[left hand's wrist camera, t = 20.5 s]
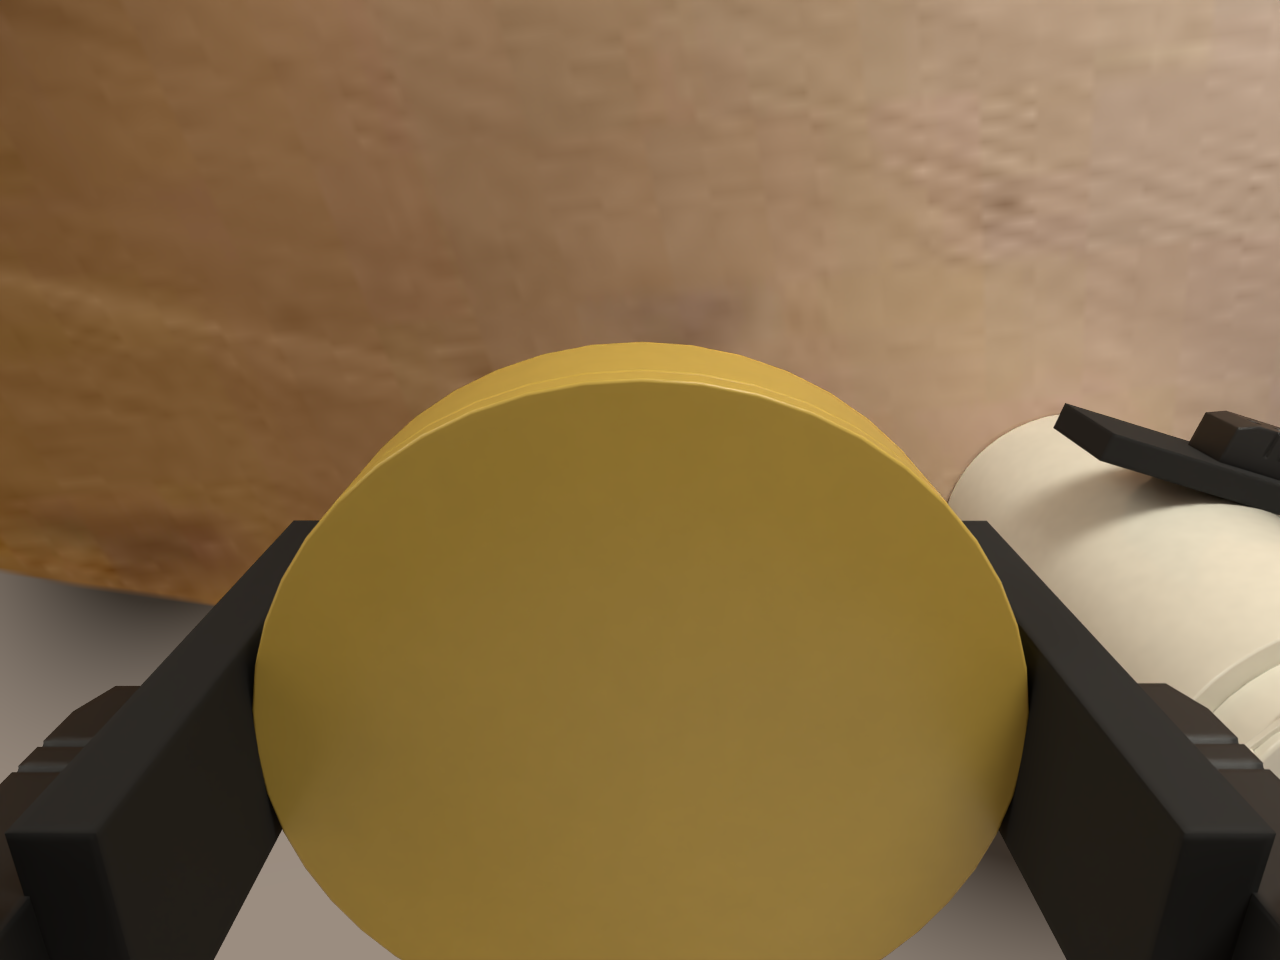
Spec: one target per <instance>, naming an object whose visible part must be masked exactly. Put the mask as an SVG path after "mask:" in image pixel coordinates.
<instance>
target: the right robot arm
mask: <svg viewBox="0 0 1280 960" xmlns="http://www.w3.org/2000/svg"><path fill="white" fill-rule="evenodd" d="M1053 428H1054V429H1055V430H1057V431H1058V432H1060V433H1061V434H1062V435H1064V436H1065V437H1067V438H1068V439H1070V440H1071V441H1072V442H1074V443H1075V444H1077V445H1078V446H1079V447H1081V448H1082V449H1084V450H1085V451H1087V452H1088V453H1089V454H1091V455H1092V456H1094V457H1095V458H1097V459H1098V460H1099V461H1102V462H1105V463H1109V464H1112V465H1115V466H1119V467H1122V468H1125V469H1129V470H1132V471H1135V472H1138V473H1142V474H1145V475H1148V476H1152V477H1155V478H1158V479H1162V480H1165V481H1168V482H1171V483H1175V484H1178V485H1181V486H1185V487H1188V488H1191V489H1195V490H1198V491H1201V492H1205V493H1208V494H1211V495H1214V496H1218V497H1221V498H1224V499H1228V500H1231V501H1234V502H1238V503H1241V504H1244V505H1247V506H1251V507H1254V508H1257V509H1261V510H1264V511H1267V512H1271V513H1274V514H1277V515H1280V428H1279V427H1276V426H1273V425H1270V424H1266V423H1263V422H1260V421H1257V420H1254V419H1251V418H1247V417H1244V416H1241V415H1238V414H1235V413H1231V412H1228V411H1218V412H1206V413H1205V415H1204V417H1203V418H1202V420H1201V422H1200V424H1199V426H1198V427H1197V429H1196V431H1195V433H1194V435H1193V436H1192V438H1191V440H1190V442H1189V441H1186V440H1183V439H1180V438H1176V437H1173V436H1170V435H1167V434H1163V433H1160V432H1157V431H1154V430H1150V429H1147V428H1144V427H1141V426H1138V425H1134V424H1131V423H1128V422H1125V421H1121V420H1118V419H1115V418H1112V417H1108V416H1105V415H1102V414H1099V413H1095V412H1092V411H1089V410H1086V409H1083V408H1079V407H1076V406H1073V405H1070V404H1066V403H1065V405H1064V407H1063V409H1062V411H1061V413H1060V415H1059V417H1058V419H1057V421H1056V423H1055V425H1054V427H1053Z"/></svg>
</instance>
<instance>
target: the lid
mask: <svg viewBox="0 0 1280 960" xmlns="http://www.w3.org/2000/svg"><path fill="white" fill-rule="evenodd" d="M252 710H253V720H254V728H255V734H256V740H257V746H258V752H259V757H260V762H261V767H262V772H263V777H264V782H265V786H266V790H267V794H268V796H269V798H270V801H271V803H272V806H273V808H274V810H275V813H276V815H277V817H278V820H279V822H280V824H281V827H282V829H283V832H284V833H285V835H286V836H287V838H288V840H289V841H290V843H291V845H292V847H293V848H294V850H295V852H296V853H297V855H298V857H299V858H300V860H301V862H302V863H303V865H304V867H305V868H306V869H307V871H308V872H309V873H310V874H311V876H312V877H313V878H314V879H315V881H316V882H317V883H318V884H319V886H320V887H321V888H322V889H323V891H324V892H325V893H326V894H327V896H328V897H329V898H330V900H331V901H332V902H333V903H334V904H335V905H336V906H337V907H338V908H339V909H340V910H341V911H343V912H344V913H345V914H346V915H347V916H348V917H349V918H350V919H351V920H352V921H353V922H354V923H355V924H356V925H357V926H358V927H359V928H360V929H361V930H362V931H363V932H365V933H366V934H367V935H369V936H370V937H371V938H372V939H374V940H375V941H376V942H378V943H379V944H380V945H382V946H383V947H384V948H385V949H387V950H388V951H389V952H391V953H392V954H393V955H395V956H396V957H398V958H399V959H401V960H881V959H883V958H884V957H886V956H887V955H888V954H890V953H891V952H892V951H894V950H895V949H896V948H897V947H899V946H900V945H901V944H903V943H904V942H905V941H907V940H908V939H909V938H911V937H912V936H913V935H915V934H916V933H917V932H918V931H919V930H921V929H922V928H923V927H924V926H925V925H926V924H927V923H928V922H929V921H930V920H931V919H932V918H933V917H934V916H935V915H936V914H937V913H938V912H939V911H940V910H941V909H942V908H943V907H944V906H945V905H946V904H947V903H948V902H949V901H950V900H951V899H952V898H953V896H954V895H955V894H956V893H957V891H958V890H959V889H960V888H961V886H962V885H963V884H964V883H965V881H966V880H967V879H968V878H969V877H970V875H971V874H972V873H973V872H974V870H975V869H976V867H977V866H978V864H979V862H980V861H981V859H982V857H983V856H984V854H985V852H986V851H987V849H988V848H989V846H990V844H991V843H992V841H993V839H994V838H995V836H996V834H997V832H998V830H999V828H1000V825H1001V823H1002V821H1003V818H1004V816H1005V814H1006V812H1007V809H1008V807H1009V805H1010V802H1011V800H1012V798H1013V795H1014V791H1015V787H1016V782H1017V777H1018V772H1019V768H1020V763H1021V758H1022V752H1023V746H1024V740H1025V734H1026V728H1027V722H1028V716H1029V704H1028V683H1027V667H1026V662H1025V657H1024V652H1023V648H1022V643H1021V638H1020V634H1019V629H1018V624H1017V622H1016V619H1015V616H1014V614H1013V611H1012V609H1011V606H1010V603H1009V601H1008V598H1007V596H1006V593H1005V590H1004V588H1003V585H1002V583H1001V581H1000V579H999V577H998V575H997V574H996V572H995V570H994V568H993V567H992V565H991V563H990V562H989V560H988V558H987V556H986V555H985V553H984V551H983V550H982V548H981V546H980V544H979V543H978V541H977V539H976V538H975V537H974V536H973V535H972V533H971V532H970V531H969V530H968V528H967V527H966V526H965V525H964V523H963V522H962V521H961V520H960V518H959V517H958V516H957V515H956V513H955V512H954V511H953V510H952V509H951V507H950V506H949V505H948V504H947V502H946V501H945V500H944V499H943V498H942V496H941V495H940V494H939V493H938V492H937V491H936V490H935V488H934V487H933V486H932V485H931V484H930V483H929V481H928V480H927V479H926V478H925V477H924V476H923V474H922V473H921V472H920V471H919V470H918V469H917V467H916V466H915V465H914V464H913V463H912V462H911V460H910V459H909V458H908V457H907V456H906V455H905V453H904V452H903V451H902V450H901V449H900V448H899V447H898V446H897V445H896V444H895V443H894V442H892V441H891V440H890V439H889V438H888V437H887V436H886V435H885V434H884V433H883V432H882V431H881V430H879V429H878V428H877V427H876V426H875V425H874V424H873V423H872V422H871V421H870V420H869V419H867V418H866V417H865V416H863V415H862V414H860V413H859V412H857V411H856V410H854V409H853V408H851V407H850V406H849V405H847V404H846V403H844V402H843V401H841V400H840V399H838V398H837V397H835V396H834V395H833V394H831V393H830V392H828V391H826V390H824V389H822V388H820V387H818V386H816V385H814V384H812V383H810V382H808V381H806V380H804V379H802V378H800V377H798V376H796V375H794V374H792V373H790V372H788V371H785V370H782V369H780V368H777V367H774V366H771V365H768V364H765V363H762V362H759V361H756V360H753V359H750V358H748V357H745V356H742V355H738V354H733V353H728V352H723V351H718V350H713V349H708V348H703V347H698V346H693V345H680V344H665V343H651V342H632V343H616V344H600V345H589V346H584V347H579V348H574V349H569V350H563V351H558V352H553V353H548V354H543V355H540V356H537V357H534V358H531V359H528V360H525V361H522V362H519V363H516V364H513V365H510V366H507V367H504V368H501V369H498V370H496V371H494V372H492V373H490V374H488V375H486V376H484V377H482V378H480V379H478V380H475V381H473V382H471V383H469V384H467V385H465V386H463V387H461V388H459V389H457V390H455V391H453V392H452V393H450V394H449V395H447V396H446V397H445V398H443V399H442V400H440V401H439V402H437V403H436V404H434V405H433V406H431V407H430V408H428V409H427V410H425V411H424V412H422V413H421V414H419V415H418V416H416V417H415V418H414V419H413V420H412V421H411V422H410V423H408V424H407V425H406V426H405V427H404V428H403V429H402V430H401V431H400V432H399V433H397V434H396V435H395V436H394V437H393V438H392V439H391V440H390V441H389V442H388V443H386V444H385V445H384V446H383V447H382V448H381V449H380V450H379V452H378V453H377V454H376V455H375V456H374V457H373V459H372V460H371V461H370V462H369V463H368V464H367V466H366V467H365V468H364V469H363V470H362V471H361V473H360V474H359V475H358V476H357V477H356V478H355V479H354V481H353V482H352V483H351V484H350V485H349V486H348V488H347V489H346V490H345V491H344V492H343V493H342V495H341V496H340V497H339V498H338V499H337V500H336V502H335V503H334V504H333V505H332V507H331V508H330V509H329V510H328V511H327V513H326V514H325V515H324V516H323V517H322V519H321V520H320V521H319V522H318V524H317V525H316V526H315V527H314V528H313V530H312V531H311V532H310V533H309V535H308V536H307V537H306V538H305V540H304V542H303V543H302V545H301V547H300V548H299V550H298V552H297V554H296V555H295V557H294V559H293V560H292V562H291V564H290V565H289V567H288V569H287V570H286V572H285V574H284V576H283V577H282V579H281V581H280V584H279V586H278V589H277V592H276V594H275V597H274V599H273V602H272V604H271V607H270V609H269V612H268V614H267V617H266V619H265V622H264V626H263V631H262V636H261V640H260V645H259V649H258V654H257V658H256V663H255V673H254V691H253V708H252Z"/></svg>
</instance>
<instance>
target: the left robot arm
mask: <svg viewBox="0 0 1280 960" xmlns="http://www.w3.org/2000/svg"><path fill="white" fill-rule="evenodd" d="M318 522H319V521H293V522H292V523H291V524H290V525H289V526H288V528H287V529H286V530H285V531H284V532H283V533H282V534H281V535H280V536H279V537H278V538H277V539H276V540H275V542H274V543H273V544H272V545H271V546H270V547H269V548H268V549H267V550H266V551H265V552H264V553H263V555H262V556H261V557H260V558H259V559H258V560H257V561H256V562H255V563H254V564H253V565H252V566H251V567H250V569H249V570H248V571H247V572H246V573H245V574H244V575H243V576H242V577H241V578H240V579H239V580H238V582H237V583H236V584H235V585H234V586H233V587H232V588H231V589H230V590H229V591H228V592H227V593H226V594H225V596H224V597H223V598H222V599H221V600H220V601H219V602H218V603H217V604H216V605H215V606H214V607H213V609H212V610H211V611H210V612H209V613H208V614H207V615H206V616H205V617H204V618H203V619H202V620H201V621H200V623H199V624H198V625H197V626H196V627H195V628H194V629H193V630H192V631H191V632H190V633H189V634H188V635H187V637H186V638H185V639H184V640H183V641H182V642H181V643H180V644H179V645H178V646H177V647H176V648H175V650H174V651H173V652H172V653H171V654H170V655H169V656H168V657H167V658H166V659H165V660H164V661H163V663H162V664H161V665H160V666H159V667H158V668H157V669H156V670H155V671H154V672H153V673H152V674H151V676H150V677H149V678H148V679H147V680H146V681H145V682H144V683H143V684H142V685H141V686H115V687H113V688H112V689H110V690H108V691H107V692H105V693H103V694H102V695H100V696H98V697H97V698H95V699H93V700H92V701H90V702H88V703H86V704H85V705H83V706H81V707H80V708H78V709H76V710H75V711H73V712H72V713H71V714H70V715H69V716H68V717H67V718H66V719H65V720H64V721H63V722H62V723H61V724H60V725H59V726H58V727H57V728H56V729H55V730H54V731H53V732H52V733H51V734H50V735H49V736H48V737H47V738H46V739H45V740H44V744H43V747H37V748H36V749H35V750H34V751H33V752H32V753H31V754H30V755H29V756H28V757H27V758H26V759H25V760H24V761H23V762H22V763H21V764H20V765H19V769H18V772H12V773H11V774H10V775H9V776H8V777H7V778H6V779H5V780H4V781H3V782H2V783H1V784H0V960H214V958H215V956H216V955H217V953H218V951H219V949H220V947H221V945H222V943H223V941H224V939H225V937H226V935H227V934H228V932H229V930H230V928H231V926H232V924H233V922H234V920H235V918H236V916H237V914H238V912H239V911H240V909H241V907H242V905H243V903H244V901H245V899H246V897H247V895H248V893H249V891H250V890H251V888H252V886H253V884H254V882H255V880H256V878H257V876H258V874H259V872H260V871H261V869H262V867H263V865H264V863H265V861H266V859H267V857H268V855H269V853H270V852H271V850H272V848H273V846H274V844H275V842H276V840H277V838H278V836H279V834H280V832H281V831H282V827H281V824H280V822H279V820H278V817H277V815H276V813H275V810H274V808H273V806H272V803H271V801H270V798H269V796H268V794H267V790H266V786H265V782H264V777H263V772H262V767H261V762H260V757H259V752H258V746H257V740H256V734H255V728H254V720H253V710H252V708H253V691H254V673H255V663H256V658H257V654H258V649H259V645H260V640H261V636H262V631H263V626H264V622H265V619H266V617H267V614H268V612H269V609H270V607H271V604H272V602H273V599H274V597H275V594H276V592H277V589H278V586H279V584H280V581H281V579H282V577H283V576H284V574H285V572H286V570H287V569H288V567H289V565H290V564H291V562H292V560H293V559H294V557H295V555H296V554H297V552H298V550H299V548H300V547H301V545H302V543H303V542H304V540H305V538H306V537H307V536H308V535H309V533H310V532H311V531H312V530H313V528H314V527H315V526H316V525H317V524H318ZM962 522H963V523H964V525H965V526H966V527H967V528H968V530H969V531H970V532H971V533H972V535H973V536H974V537H975V538H976V539H977V541H978V543H979V544H980V546H981V548H982V550H983V551H984V553H985V555H986V556H987V558H988V560H989V562H990V563H991V565H992V567H993V568H994V570H995V572H996V574H997V575H998V577H999V579H1000V581H1001V583H1002V585H1003V588H1004V590H1005V593H1006V596H1007V598H1008V601H1009V603H1010V606H1011V609H1012V611H1013V614H1014V616H1015V619H1016V622H1017V624H1018V629H1019V634H1020V638H1021V643H1022V648H1023V652H1024V657H1025V662H1026V667H1027V683H1028V704H1029V716H1028V722H1027V728H1026V734H1025V740H1024V746H1023V752H1022V758H1021V763H1020V768H1019V772H1018V777H1017V782H1016V787H1015V791H1014V795H1013V798H1012V800H1011V802H1010V805H1009V807H1008V809H1007V812H1006V814H1005V816H1004V818H1003V821H1002V823H1001V825H1000V828H999V831H1000V833H1001V835H1002V837H1003V839H1004V841H1005V843H1006V845H1007V847H1008V849H1009V850H1010V852H1011V854H1012V856H1013V858H1014V860H1015V862H1016V864H1017V866H1018V868H1019V870H1020V871H1021V873H1022V875H1023V877H1024V879H1025V881H1026V883H1027V885H1028V887H1029V889H1030V890H1031V892H1032V894H1033V896H1034V898H1035V900H1036V902H1037V904H1038V906H1039V908H1040V910H1041V911H1042V913H1043V915H1044V917H1045V919H1046V921H1047V923H1048V925H1049V927H1050V929H1051V931H1052V932H1053V934H1054V936H1055V938H1056V940H1057V942H1058V944H1059V946H1060V948H1061V949H1062V952H1063V953H1064V955H1065V957H1066V959H1067V960H1280V779H1279V778H1278V777H1277V776H1276V775H1275V774H1274V773H1273V772H1272V771H1271V770H1270V769H1264V767H1263V762H1262V761H1261V760H1260V759H1259V758H1258V757H1257V756H1256V755H1255V754H1254V753H1253V752H1252V751H1251V750H1250V749H1249V748H1248V747H1247V746H1246V745H1245V744H1239V742H1238V737H1237V736H1236V735H1235V734H1234V733H1233V732H1231V731H1230V730H1229V729H1228V728H1227V727H1226V726H1225V725H1224V724H1223V723H1222V722H1221V721H1220V720H1219V719H1218V718H1217V717H1216V716H1215V715H1214V714H1213V713H1212V712H1211V711H1210V710H1209V709H1208V708H1207V707H1205V706H1203V705H1202V704H1200V703H1198V702H1196V701H1195V700H1193V699H1191V698H1190V697H1188V696H1186V695H1185V694H1183V693H1181V692H1180V691H1178V690H1176V689H1175V688H1173V687H1171V686H1170V685H1168V684H1166V683H1137V682H1136V681H1135V680H1134V679H1133V678H1132V677H1131V676H1130V675H1129V674H1128V673H1127V672H1126V670H1125V669H1124V668H1123V667H1122V666H1121V665H1120V664H1119V663H1118V662H1117V661H1116V660H1115V659H1114V658H1113V656H1112V655H1111V654H1110V653H1109V652H1108V651H1107V650H1106V649H1105V648H1104V647H1103V646H1102V645H1101V643H1100V642H1099V641H1098V640H1097V639H1096V638H1095V637H1094V636H1093V635H1092V634H1091V633H1090V632H1089V631H1088V629H1087V628H1086V627H1085V626H1084V625H1083V624H1082V623H1081V622H1080V621H1079V620H1078V619H1077V618H1076V616H1075V615H1074V614H1073V613H1072V612H1071V611H1070V610H1069V609H1068V608H1067V607H1066V606H1065V605H1064V604H1063V602H1062V601H1061V600H1060V599H1059V598H1058V597H1057V596H1056V595H1055V594H1054V593H1053V592H1052V591H1051V589H1050V588H1049V587H1048V586H1047V585H1046V584H1045V583H1044V582H1043V581H1042V580H1041V579H1040V578H1039V577H1038V575H1037V574H1036V573H1035V572H1034V571H1033V570H1032V569H1031V568H1030V567H1029V566H1028V565H1027V564H1026V563H1025V561H1024V560H1023V559H1022V558H1021V557H1020V556H1019V555H1018V554H1017V553H1016V552H1015V551H1014V550H1013V548H1012V547H1011V546H1010V545H1009V544H1008V543H1007V542H1006V541H1005V540H1004V539H1003V538H1002V537H1001V536H1000V534H999V533H998V532H997V531H996V530H995V529H994V528H993V527H992V526H991V525H990V524H989V523H988V521H962Z"/></svg>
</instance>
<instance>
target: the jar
mask: <svg viewBox="0 0 1280 960" xmlns="http://www.w3.org/2000/svg"><path fill="white" fill-rule="evenodd" d="M1059 415H1060V414H1059ZM1059 415H1054V416H1048V417H1044V418H1041V419H1037V420H1034V421H1031V422H1028V423H1026V424H1024V425H1021V426H1019V427H1017V428H1015V429H1013V430H1011V431H1009V432H1008V433H1006V434H1004V435H1003V436H1001V437H999V438H998V439H997V440H995V441H994V442H993V443H991V444H990V445H989V446H987V447H986V448H985V449H984V450H983V451H982V452H981V453H980V454H979V455H978V456H977V457H976V458H975V459H974V460H973V461H972V462H971V464H970V465H969V466H968V467H967V468H966V470H965V471H964V473H963V474H962V476H961V477H960V479H959V480H958V482H957V484H956V486H955V488H954V490H953V492H952V494H951V496H950V499H949V502H948V505H949V506H950V507H951V509H952V510H953V511H954V512H955V513H956V515H957V516H958V517H959V518H960V520H961V521H988V523H989V524H990V525H991V526H992V527H993V528H994V529H995V530H996V531H997V532H998V533H999V534H1000V536H1001V537H1002V538H1003V539H1004V540H1005V541H1006V542H1007V543H1008V544H1009V545H1010V546H1011V547H1012V548H1013V550H1014V551H1015V552H1016V553H1017V554H1018V555H1019V556H1020V557H1021V558H1022V559H1023V560H1024V561H1025V563H1026V564H1027V565H1028V566H1029V567H1030V568H1031V569H1032V570H1033V571H1034V572H1035V573H1036V574H1037V575H1038V577H1039V578H1040V579H1041V580H1042V581H1043V582H1044V583H1045V584H1046V585H1047V586H1048V587H1049V588H1050V589H1051V591H1052V592H1053V593H1054V594H1055V595H1056V596H1057V597H1058V598H1059V599H1060V600H1061V601H1062V602H1063V604H1064V605H1065V606H1066V607H1067V608H1068V609H1069V610H1070V611H1071V612H1072V613H1073V614H1074V615H1075V616H1076V618H1077V619H1078V620H1079V621H1080V622H1081V623H1082V624H1083V625H1084V626H1085V627H1086V628H1087V629H1088V631H1089V632H1090V633H1091V634H1092V635H1093V636H1094V637H1095V638H1096V639H1097V640H1098V641H1099V642H1100V643H1101V645H1102V646H1103V647H1104V648H1105V649H1106V650H1107V651H1108V652H1109V653H1110V654H1111V655H1112V656H1113V658H1114V659H1115V660H1116V661H1117V662H1118V663H1119V664H1120V665H1121V666H1122V667H1123V668H1124V669H1125V670H1126V672H1127V673H1128V674H1129V675H1130V676H1131V677H1132V678H1133V679H1134V680H1135V681H1136V682H1137V683H1166V684H1168V685H1170V686H1171V687H1173V688H1175V689H1176V690H1178V691H1180V692H1181V693H1183V694H1185V695H1186V696H1188V697H1190V698H1191V699H1193V700H1195V701H1196V702H1198V703H1200V704H1202V705H1203V706H1205V707H1207V708H1208V709H1209V710H1210V711H1211V712H1212V713H1213V714H1214V715H1215V716H1216V717H1217V718H1218V719H1219V720H1220V721H1221V722H1222V723H1223V724H1224V725H1225V726H1226V727H1227V728H1228V729H1229V730H1230V731H1231V732H1233V733H1234V734H1235V735H1236V736H1237V737H1238V742H1239V744H1245V745H1246V746H1247V747H1248V748H1249V749H1250V750H1251V751H1252V752H1253V753H1254V754H1255V755H1256V756H1257V757H1258V758H1259V759H1260V760H1261V761H1262V762H1263V767H1264V769H1270V770H1271V771H1272V772H1273V773H1274V774H1275V775H1276V776H1277V777H1278V778H1279V779H1280V515H1277V514H1274V513H1271V512H1267V511H1264V510H1261V509H1257V508H1254V507H1251V506H1247V505H1244V504H1241V503H1238V502H1234V501H1231V500H1228V499H1224V498H1221V497H1218V496H1214V495H1211V494H1208V493H1205V492H1201V491H1198V490H1195V489H1191V488H1188V487H1185V486H1181V485H1178V484H1175V483H1171V482H1168V481H1165V480H1162V479H1158V478H1155V477H1152V476H1148V475H1145V474H1142V473H1138V472H1135V471H1132V470H1129V469H1125V468H1122V467H1119V466H1115V465H1112V464H1109V463H1105V462H1102V461H1099V460H1098V459H1097V458H1095V457H1094V456H1092V455H1091V454H1089V453H1088V452H1087V451H1085V450H1084V449H1082V448H1081V447H1079V446H1078V445H1077V444H1075V443H1074V442H1072V441H1071V440H1070V439H1068V438H1067V437H1065V436H1064V435H1062V434H1061V433H1060V432H1058V431H1057V430H1055V429H1054V428H1053V427H1054V425H1055V423H1056V421H1057V419H1058V417H1059Z"/></svg>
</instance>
